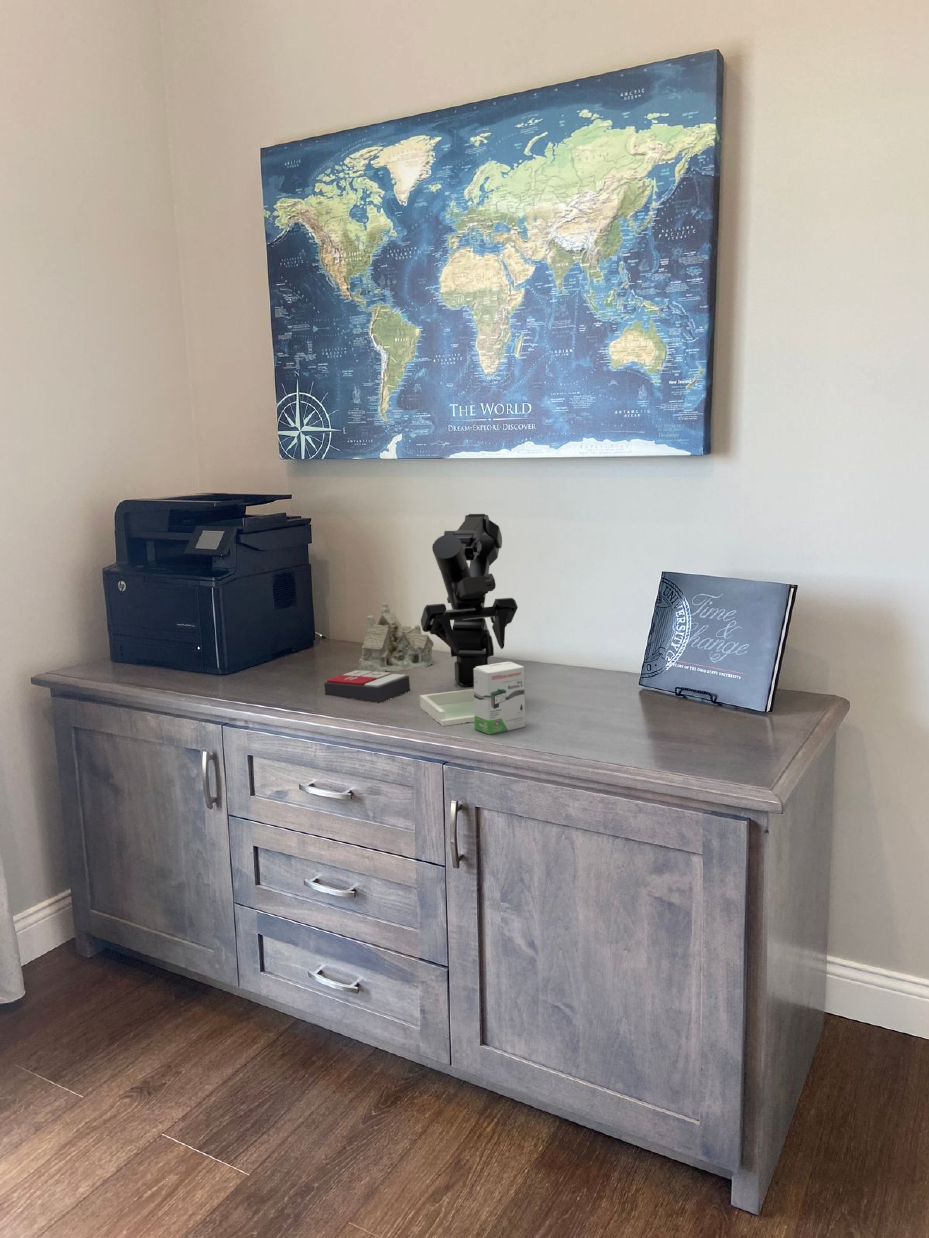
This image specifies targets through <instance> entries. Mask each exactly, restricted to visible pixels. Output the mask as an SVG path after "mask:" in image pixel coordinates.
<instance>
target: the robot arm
mask: <svg viewBox="0 0 929 1238" xmlns="http://www.w3.org/2000/svg"><path fill="white" fill-rule="evenodd" d="M502 547H503V537H502V532H501V529H500V526H499V525H498V524H496V523H495V522H493V521H492V520H491V519H490V518H489V515H488V514H485V513H469V514H466V515H464V521H463V522H462V523H461V525H460V526H459V527H458V529H457V530H444V532H443V535H441V536H439V537H438V538H436V540H434V543H432V548H431V549H432V552H433V555H434V559H435V561H436V563H437V566H438V569H439V571H440V575H441V578H442V580H443V584H444V587H445V589H446V594H447V598H446V601H447V603H448V604H450V606H451V609H447V607H446V604H445V603H436V604H435V603H434V604H426V605H425V607H424V608H423V611H422V615H421V618H420V627H421V631H423V632H424V633H428V632H429V634H430V635H435V636H436V637H437V638H439V639H440V640H441V641H443V642H444V644H446V645H447V646H448V647H449V648H450V655H451V656H450V657H452V658H453V657H456V661H455V662H454V681H455V682H456V683H458V684H459V685H461V686H463V687H472V686H473V687H474V668H476V667H477V666H483V665H489V663H488V660H489V658H490V657H492V656H493V657H494V656H495V651H494V650H495V647H494V642H493V637H492V636H491V632H490V630H489V628H488V624H487V622H486V621H487V620H486V618H490V621H491V623H492V626H491V629H492V631H493V633H494V637H495V639H496V641H497V644H498V647H499V648H500V649H501V650H502V649H504V647H505V639H506V638H505V636H506V635H505V634H506V627H508V625H509V624H511V623H512V621H513V619H514V617H515V614H516V612H517V611H518V608H519V607H518V604H517V601H516V599H515V598H514V597H505V598H504V597H503V598H495V599H494V602H493V603H492V606H485V602H486V594H488V593H489V592H493V591H494V590H495V589H496V586H497V584H496V579H495V577H494V575H493V573H490V566H491V565H492V564H493V563H494V562H495V561H496V560H497V559H498V557H499V553H500V549H502ZM467 561H468V562H470V563H469V564H468V562H467ZM451 621H453V624H452V623H451Z"/></svg>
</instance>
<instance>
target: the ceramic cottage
mask: <svg viewBox="0 0 929 1238" xmlns="http://www.w3.org/2000/svg"><path fill="white" fill-rule="evenodd" d="M381 605H382V607H381V611H380V612H381V613H380V614H381V615H380V616H381V617H380V618H379V620H378V622H377V623H376V619H375V616H374V615H368V616H366V624H365V629H364V632H365V635H364V641H363V643H362V646H361V648H362V649H361V657H360V658H359V659H358V665H357V670H358V669H359V670H361V671H372V672H385V671H390V672H402V671H409V670H408V669H414V670H419V669H418V668H422V667H426V668H428V667H429V666H432V665H434V659H433V657H432V652H433V647H434V646H435V645H434V641H433V640H432V639H431V637H430V636H429V635H428V634H422V628H421V624H415V625H414V627H412V628H411V626H407V625H404V626H403V625H402V624H401V621H399V618H397V616H396V615H395V614H396V613H394V611H390V607H389V605H388V603H387V602H385V603H381ZM431 664H432V665H431ZM422 669H423V668H422Z"/></svg>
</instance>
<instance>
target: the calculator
mask: <svg viewBox="0 0 929 1238" xmlns="http://www.w3.org/2000/svg"><path fill="white" fill-rule="evenodd" d="M408 691H409V692H411V683H410V676H409V675H407V674H402V673H401V674H399V673H391V672H372V671H361V670H358V669H357V670H356V669H355V670H352V671H350V672H347V673H344V674H342V675H337V676H335V677H332V678H329V679H326V682H324V693H325V694H324V695H326V696H331V695H332V696H331V697H338V698H345V699H350V698H354V699H353V700H359V701H361V700H362V701H363V700H364V702H368V701H369V702H368V703H375V702H378V703H377V704H381V703H380V702H382V703H384V702H387V701H389V700H391V699H390V698H392V699H395V698H397V697H399V696H401V694H402V695H404V694H406V693H405V692H407V693H409V692H408ZM398 695H399V696H398ZM396 696H397V697H396ZM388 699H389V700H388ZM386 700H387V701H386Z"/></svg>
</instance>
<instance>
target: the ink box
mask: <svg viewBox="0 0 929 1238" xmlns="http://www.w3.org/2000/svg"><path fill="white" fill-rule="evenodd" d="M525 683H526V682H525V666H524V665H520V664H518V663H515V662H513V661H504V662H497V663H491V664H489V663H488V665H483V666H477V667H476V668H474V685H473V689H474V715H475V722H474V730H477V731H479V732H482V733H484V734H486V735H494V734H499V733H505V732H508V731H512V730H516V729H521V728H525V727H526V700H525V698H526V697H525V695H526V692H525V687H526V686H525Z"/></svg>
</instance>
